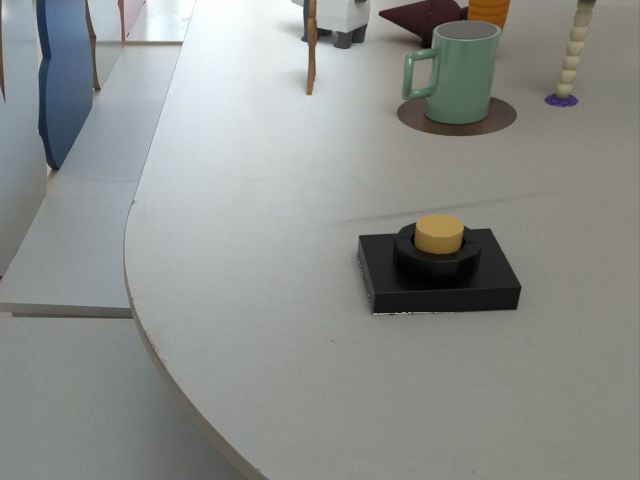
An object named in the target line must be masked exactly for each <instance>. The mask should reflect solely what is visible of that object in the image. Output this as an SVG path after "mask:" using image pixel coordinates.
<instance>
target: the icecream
mask: <svg viewBox="0 0 640 480" xmlns="http://www.w3.org/2000/svg"><path fill="white" fill-rule="evenodd" d="M468 6H469V5H467V6H464V7H461V6H460V5H459V3H457V1H456V0H421V1H417V2H412V3H408V4H404V5H400V6H396V7H391V8H385V9H383V10H379V11H378V16H379V17H381V18H383V19H385V20H387V21H388V22H390V23H392V24H394V25H396V26H398V27H400V28H401V29H404V30H406V31H408V32H409V33H412V34H414V35H415V36H417V37H419V38H420V39H421V41H420V46H421V47H424V46H425V44H428V45H431V46H432V37H433V30H434V29H435V28H436V27H437V26H439V25H442V24H445V23H449V22H455V21H468Z"/></svg>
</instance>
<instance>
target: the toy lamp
mask: <svg viewBox="0 0 640 480" xmlns="http://www.w3.org/2000/svg"><path fill="white" fill-rule="evenodd" d="M596 2H597V0H577V2H576V8H577V9H576V11H575V12H574V14H573V20H572V21H573V25H572V26H571V28H570V31H569V40H568V42H567V44H566V45H565V53H566V54H565V55H564V56H563V59H562V63H561V64H562V67H561V70H560V71H559V74H558V83H557V84H556V86H555V89H554V90H555V93H552V94H550V95H549V94H548V96H546V97H545V98H544V99H543V102H544V103H545V105H546V104H547V105H549V106H551V107H557V108H568V107H569V108H571V107H574V106H577V105H578V104H579V100H578V98H577V97H576V96H575V95H572V92H573V88H574V81H575V80H576V78H577V73H578V70H577V69H578V67H579V66H580V65H581V60H582V58H581V54H582V53H583V51H584V49H585V44H586V43H585V40H586V38H587V36H588V34H589V24H590V23H591V21H592V18H593V9H594V8H595V6H596Z"/></svg>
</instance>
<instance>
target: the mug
mask: <svg viewBox="0 0 640 480" xmlns="http://www.w3.org/2000/svg"><path fill="white" fill-rule="evenodd" d="M501 36H502V34H501V29H500V27H498V26H496V25H494V24H491V23H487V22H481V21H465V20H463V21H455V22H449V23H445V24H442V25H439V26H437V27H436V28H435V29H434V30H433V37H432V45H431V46H430V47H431V48H427V49H420V50H414V51H407V52H405V53H406V54H405V55H404V63H403V72H402V85H401V95H400V96H401V99H402V100H403V101H408V100H410V99H411V100H412V99H417V98H420V99H421V98H426V100H425V102H424V103H425V105H424V106H425V109H424V111H423V112H424V113H425V117H426V116H427V117H428V118H430V119H431V120H434V121H437V122H438V123H439V122H441V123H446V124H456V125H457V124H468V123H471V124H472V123H474V122H476V123H477V121H481V120H483V119H484V118H485V117H486V116H488V115H487V114H488V112H489V111H488V110H489V109H490V108H489V103H490V100H491V99H490V97H492V92H493V91H492V90H493V84H494V78H495V72H496V65H497V61H498V53H499V48H500V41H501ZM426 60H429V65H428V67H429V68H428V74H427V82H426V87H422V88H421V87H420V88H415V89H414V88H413V89H412V87H413V78H414V77H413V76H414V67H415V62H417V61H426ZM490 104H491V103H490Z"/></svg>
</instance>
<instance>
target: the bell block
mask: <svg viewBox="0 0 640 480" xmlns="http://www.w3.org/2000/svg"><path fill="white" fill-rule="evenodd" d="M416 223H417V221H415V222H411V223H409V224H407V225H405V226H402V227H401V228H400V230H399V231H398V232H393V233H374V234H359V235H358V242H357V243H358V245H357V259H358V258H359V260H358V262H359V261H360V264H359V266H360V265H361V268H360V270H361V269H362V272H363V275H362V277H363V276H364V279H363V281H364V280H365V283H366V287H367V291H368V294H369V299H370V302H369V304H370V303H371V306H370V308H371V307H372V310H371V312H372V311H373V313H378V314H379V313H396V312H397V313H402V312H406V313H408V312H412V313H413V312H433V313H432V314H435V313H434V312H454V313H473V312H474V313H477V312H493V311H494V312H497V311H499V312H501V311H517V310H518V307H519V306H518V305H519V302H520V298H521V297H520V296H521V292H522V288H523V287H522V285H521V283H520V280H519V279H518V277H517V275H516V273H515V271H514V269H513V268H512V266H511V264H510V262H509V260H508V258H507V256H506V255H505V252H504V251H503V249H502V247H501V245H500V244H499V242H498V240H497V238H496V235H495V234H494V232H493V230H492V229H491V228H490V227H489V228H487V227H485V228H470V227H467V226H466V225H464V231H463V237H462V243H461V248H460V249H459V250H458V251H455V252H453V253H448V254H434V253H430V252H425V251H421V250H420V249H418V248H416V247H415V245H414V238H415V229H416ZM362 272H361V273H362ZM365 283H364V284H365ZM366 287H365V288H366ZM367 291H366V292H367ZM369 299H368V300H369Z"/></svg>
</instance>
